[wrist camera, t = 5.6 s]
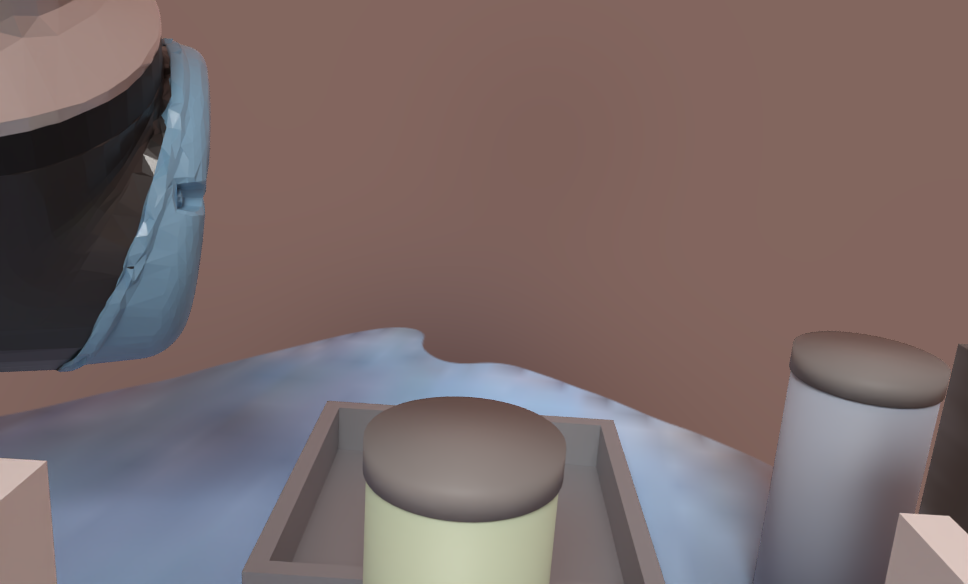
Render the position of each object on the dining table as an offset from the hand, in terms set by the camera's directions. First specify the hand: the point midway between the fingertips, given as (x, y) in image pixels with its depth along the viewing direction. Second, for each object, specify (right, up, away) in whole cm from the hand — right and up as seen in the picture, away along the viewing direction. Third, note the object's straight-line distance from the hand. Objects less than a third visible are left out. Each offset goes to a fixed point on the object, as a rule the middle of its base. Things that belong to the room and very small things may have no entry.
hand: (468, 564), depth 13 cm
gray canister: (+15, -10, +24) cm, 30 cm away
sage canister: (-1, -11, +14) cm, 18 cm away
